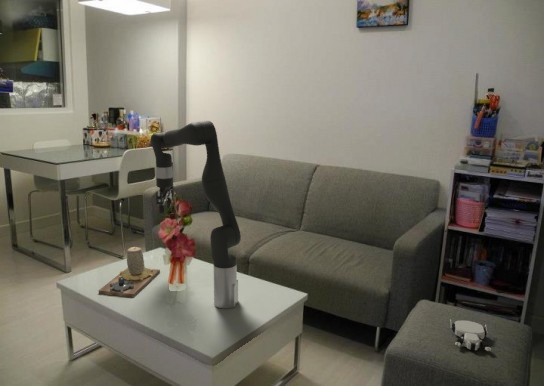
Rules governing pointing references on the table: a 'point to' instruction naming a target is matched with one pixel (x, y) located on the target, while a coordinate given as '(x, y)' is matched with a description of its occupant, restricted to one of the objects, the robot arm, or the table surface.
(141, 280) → the gear board
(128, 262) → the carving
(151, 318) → the table surface
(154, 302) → the table surface
